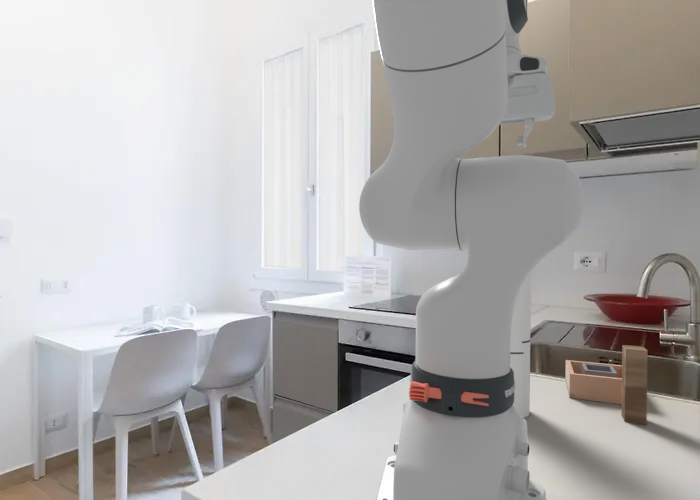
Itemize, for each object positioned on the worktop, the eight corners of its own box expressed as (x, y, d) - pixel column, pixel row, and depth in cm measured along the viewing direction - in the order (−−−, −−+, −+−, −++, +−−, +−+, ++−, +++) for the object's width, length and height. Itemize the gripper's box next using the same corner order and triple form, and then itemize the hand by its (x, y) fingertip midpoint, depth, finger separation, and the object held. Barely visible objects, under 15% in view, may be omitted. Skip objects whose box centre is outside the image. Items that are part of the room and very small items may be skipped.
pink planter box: (637, 406, 79) (638, 379, 78) (569, 397, 83) (569, 372, 83) (625, 387, 89) (626, 364, 89) (565, 381, 93) (565, 358, 93)
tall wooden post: (646, 424, 70) (647, 350, 70) (624, 421, 72) (625, 348, 71) (642, 418, 73) (643, 346, 73) (621, 415, 74) (622, 344, 74)
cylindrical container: (538, 413, 75) (540, 267, 75) (511, 421, 71) (512, 268, 71) (504, 400, 81) (505, 265, 81) (477, 407, 77) (478, 266, 77)
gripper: (434, 74, 81) (434, 149, 81) (556, 57, 73) (555, 140, 73) (441, 86, 87) (440, 156, 87) (554, 71, 79) (553, 148, 79)
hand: (494, 148), depth 80 cm, fingers open, 8 cm apart
